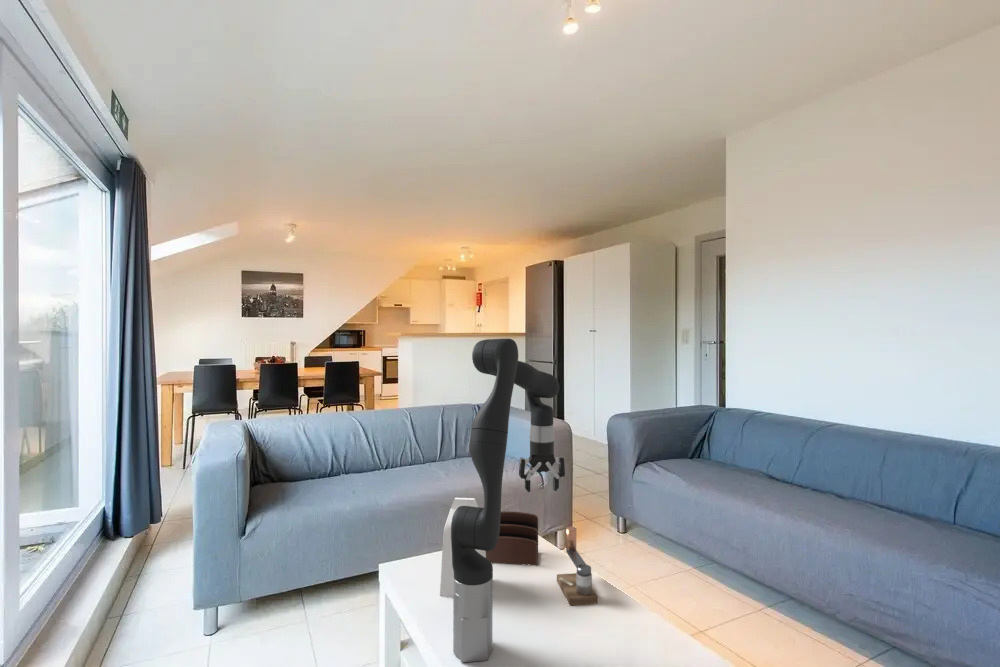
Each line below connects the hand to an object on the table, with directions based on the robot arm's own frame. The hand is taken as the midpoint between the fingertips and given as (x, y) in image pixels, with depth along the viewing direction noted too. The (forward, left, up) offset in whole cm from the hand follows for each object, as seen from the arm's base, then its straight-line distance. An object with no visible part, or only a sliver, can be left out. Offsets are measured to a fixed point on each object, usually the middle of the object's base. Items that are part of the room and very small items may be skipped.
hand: (541, 490), depth 158 cm
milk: (-6, +25, -26) cm, 36 cm away
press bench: (-13, -7, -26) cm, 29 cm away
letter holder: (+12, +9, -26) cm, 30 cm away
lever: (-10, -8, -18) cm, 23 cm away
